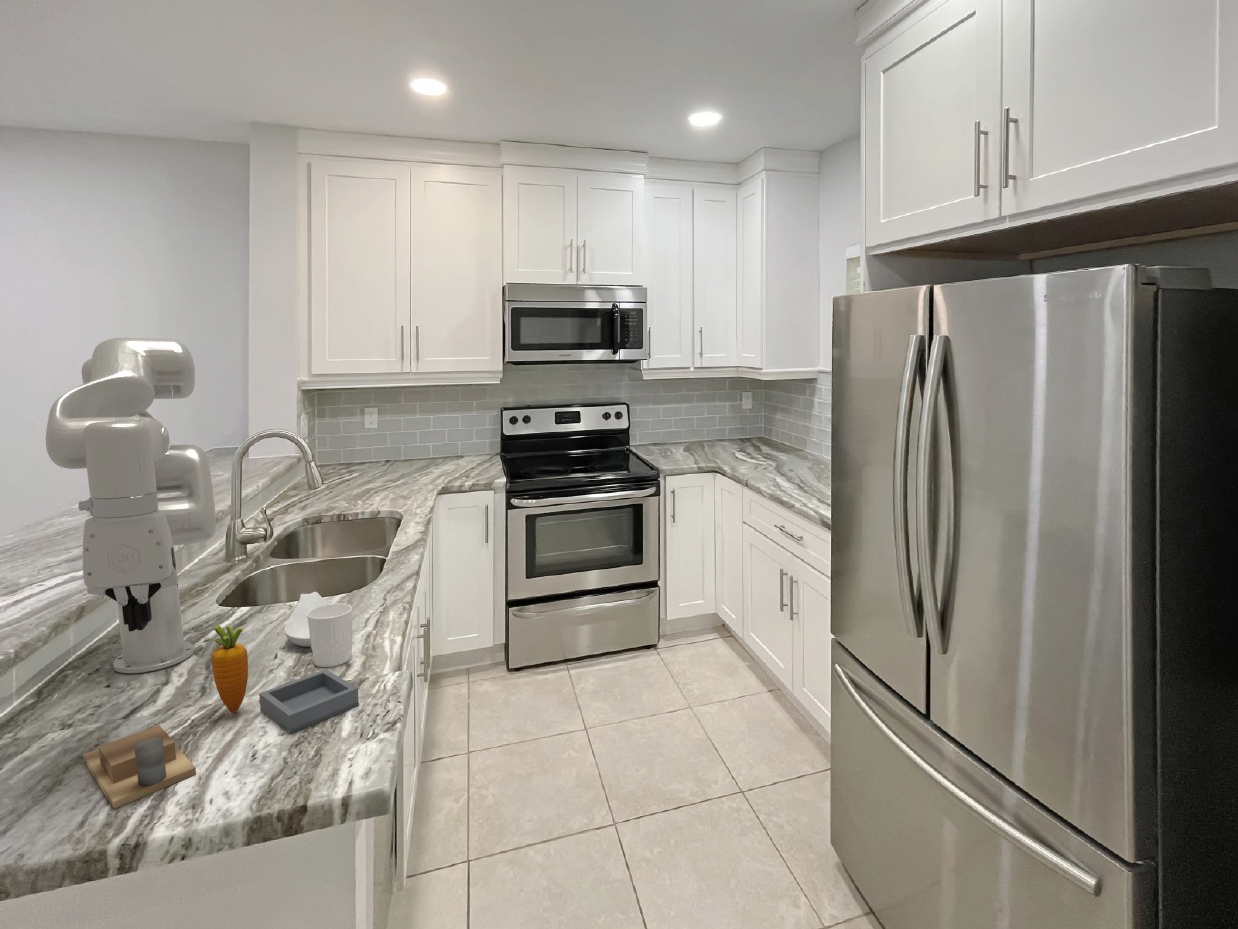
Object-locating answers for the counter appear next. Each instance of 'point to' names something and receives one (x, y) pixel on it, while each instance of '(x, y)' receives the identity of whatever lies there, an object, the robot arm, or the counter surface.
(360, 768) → the counter surface
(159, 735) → the wooden rectangular block
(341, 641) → the white cup
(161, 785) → the board
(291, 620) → the spoon rest
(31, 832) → the counter surface
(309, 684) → the tray
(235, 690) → the carrot
